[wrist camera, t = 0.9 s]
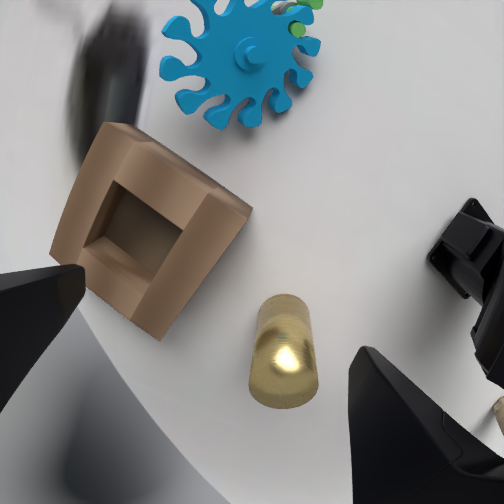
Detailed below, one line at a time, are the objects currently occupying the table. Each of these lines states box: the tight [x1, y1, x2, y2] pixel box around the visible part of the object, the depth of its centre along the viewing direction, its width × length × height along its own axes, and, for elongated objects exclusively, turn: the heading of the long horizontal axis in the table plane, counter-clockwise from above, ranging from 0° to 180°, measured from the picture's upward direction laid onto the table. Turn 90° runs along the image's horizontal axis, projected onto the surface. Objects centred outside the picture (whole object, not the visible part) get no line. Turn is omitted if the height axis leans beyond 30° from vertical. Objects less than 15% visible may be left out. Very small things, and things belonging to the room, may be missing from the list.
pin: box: [249, 294, 318, 409], centre depth 20 cm, size 4×4×8 cm
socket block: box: [49, 122, 253, 341], centre depth 20 cm, size 11×11×4 cm
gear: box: [159, 0, 323, 130], centre depth 15 cm, size 11×6×10 cm
